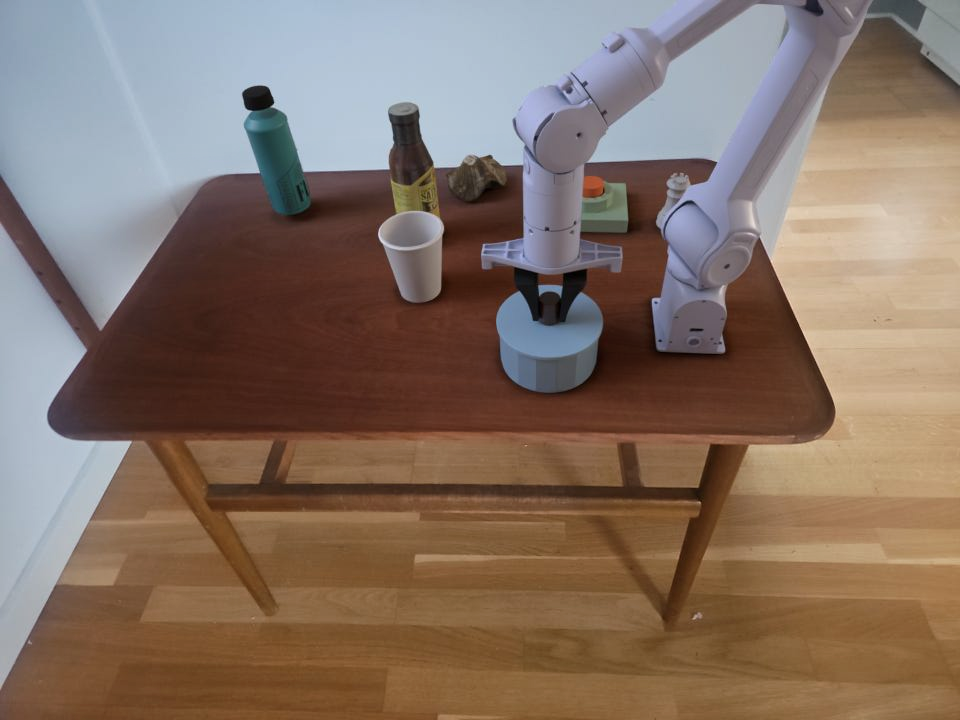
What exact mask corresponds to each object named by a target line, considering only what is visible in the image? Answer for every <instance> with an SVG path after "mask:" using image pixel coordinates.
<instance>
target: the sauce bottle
mask: <svg viewBox="0 0 960 720" xmlns="http://www.w3.org/2000/svg"><path fill="white" fill-rule="evenodd" d="M387 116H388V120H389V123H390V125H391V131H392V141H393V144H392V147H391V149H390V151H389V154H388V167H389V173H390V174H389V177H390V184H391V189H392V191H391V192H392V195H393V202H394V209H395V215H396V214H399V213H403V212H408V211H423V212H428V213H431V214H433V215H435V216H437V217H438V218H439V219H440V220H441V215H440V207H439V197H438V190H437V189H438V188H437V181H436V172H435V163H434V160H433V158H432V156H431V154H430V152H429V150H428V148H427V146H426V143H425V141H424V140H423V135H422V133H421V123H420V119H421V114H420V107H419V106H418V104H416V103H413V102H408V101H405V102H398V103H396V104H392V105H391V106H390V107H389V108H388V110H387Z"/></svg>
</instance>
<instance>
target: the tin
mask: <svg viewBox="0 0 960 720" xmlns="http://www.w3.org/2000/svg"><path fill="white" fill-rule="evenodd" d="M599 339H600V337H599V338H598V340H597V341H596V343H595V344H594V345H593V346H592V347H590V348H589V349H588V350H586V351H585V352H583V353H581V354H579V355H577V356H574V357H571V358H567V359H562V360H539V359H533V358H530V357H526V356H524V355H521V354H519V353H517V352H515V351H514V350H512V349H511V348H510V347H508V346H507V345H506V344H505V343H504V342H503V340H502V339H501V337H500V336H499V348H500V361H501V364H502V368H503V370H504V372H505V373H506V375H507V376H508V377H509V378H510V379H511V380H512V381H513V382H514V383H515V384H517V385H519V386H521V387H522V388H524V389H527V390H530V391H532V392H537V393H545V394H547V393H549V394H554V393H561V392H566V391H569V390H572V389H575V388H577V387H578V386H580V385H581V384H583V383H584V382H585V381H587V379H588V378H589V377H590V376H591V375H592V373H593V371H594V369H595V366H596V364H597V356H598V348H599V347H598V346H599Z"/></svg>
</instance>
